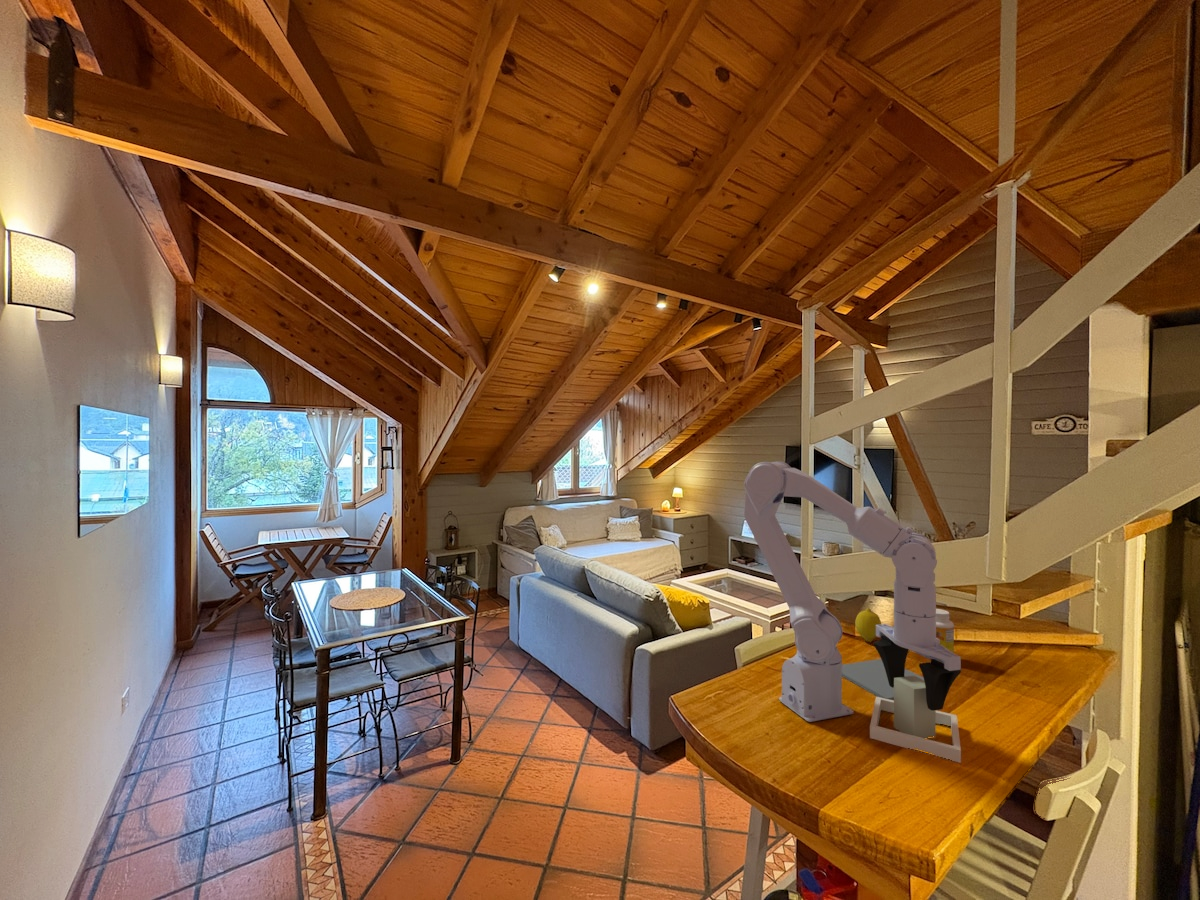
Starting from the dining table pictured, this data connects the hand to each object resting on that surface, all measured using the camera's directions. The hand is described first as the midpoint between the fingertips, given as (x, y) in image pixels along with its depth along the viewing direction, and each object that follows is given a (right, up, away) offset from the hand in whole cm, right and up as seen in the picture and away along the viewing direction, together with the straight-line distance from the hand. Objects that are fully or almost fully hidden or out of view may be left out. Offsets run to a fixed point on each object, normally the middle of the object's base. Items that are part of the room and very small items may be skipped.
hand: (914, 697), depth 81 cm
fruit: (+13, -6, +39) cm, 41 cm away
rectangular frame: (0, -6, 0) cm, 6 cm away
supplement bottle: (+23, -6, +29) cm, 38 cm away
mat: (+6, -6, +19) cm, 20 cm away
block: (0, -6, 0) cm, 6 cm away
